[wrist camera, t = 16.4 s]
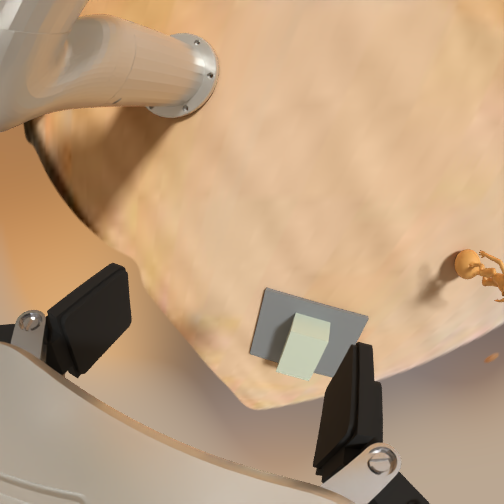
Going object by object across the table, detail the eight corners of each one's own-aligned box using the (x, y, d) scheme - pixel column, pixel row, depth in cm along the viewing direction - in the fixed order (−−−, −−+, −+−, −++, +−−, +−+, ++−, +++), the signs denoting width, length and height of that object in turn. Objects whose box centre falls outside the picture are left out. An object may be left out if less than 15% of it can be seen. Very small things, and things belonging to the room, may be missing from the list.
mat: (250, 351, 50) (249, 353, 49) (266, 287, 43) (265, 289, 43) (336, 375, 47) (336, 378, 46) (368, 316, 41) (368, 318, 40)
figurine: (441, 242, 33) (473, 287, 23) (473, 219, 30) (515, 256, 20) (461, 286, 34) (489, 337, 24) (491, 264, 32) (527, 310, 21)
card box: (295, 312, 43) (290, 331, 39) (330, 322, 42) (328, 341, 38) (281, 352, 47) (275, 371, 43) (312, 361, 46) (309, 381, 42)
